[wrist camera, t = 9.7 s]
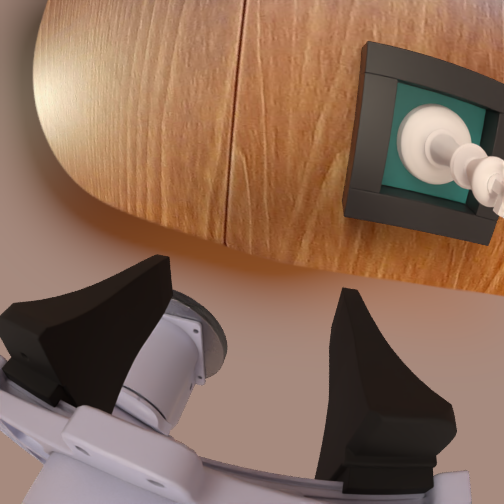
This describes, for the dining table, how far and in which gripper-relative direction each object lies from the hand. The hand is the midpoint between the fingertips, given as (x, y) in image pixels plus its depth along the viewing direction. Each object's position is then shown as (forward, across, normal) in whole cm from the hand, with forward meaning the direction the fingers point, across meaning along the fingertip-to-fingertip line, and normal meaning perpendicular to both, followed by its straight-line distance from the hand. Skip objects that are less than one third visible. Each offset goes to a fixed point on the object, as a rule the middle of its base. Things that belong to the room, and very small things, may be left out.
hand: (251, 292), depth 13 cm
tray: (+10, -9, -6) cm, 15 cm away
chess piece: (+9, -9, -6) cm, 14 cm away
